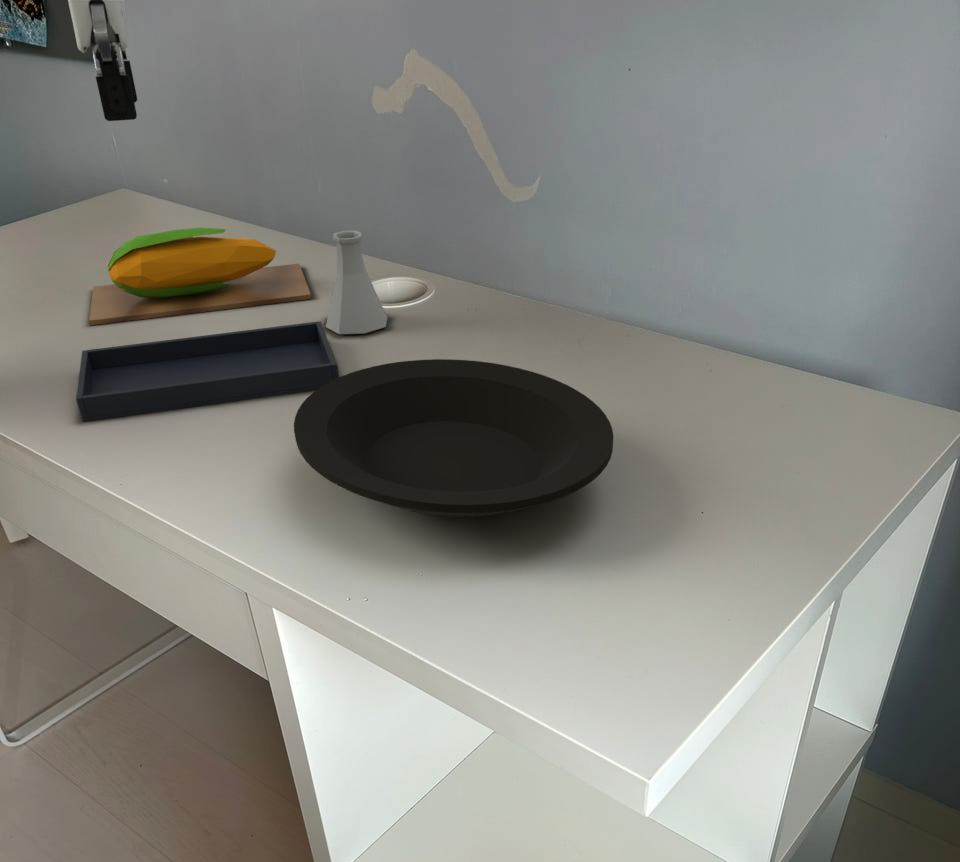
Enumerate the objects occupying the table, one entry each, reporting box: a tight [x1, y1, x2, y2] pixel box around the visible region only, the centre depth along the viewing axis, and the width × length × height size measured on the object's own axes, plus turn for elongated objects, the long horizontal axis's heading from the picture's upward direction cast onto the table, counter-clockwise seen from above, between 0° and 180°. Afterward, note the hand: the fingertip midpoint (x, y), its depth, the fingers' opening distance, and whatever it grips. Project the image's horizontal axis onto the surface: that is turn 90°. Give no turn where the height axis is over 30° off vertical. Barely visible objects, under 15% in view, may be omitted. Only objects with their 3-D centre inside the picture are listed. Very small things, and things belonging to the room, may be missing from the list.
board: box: [88, 263, 312, 326], centre depth 122 cm, size 26×12×1 cm, turn 105°
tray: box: [75, 320, 340, 423], centre depth 102 cm, size 25×12×2 cm, turn 105°
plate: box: [293, 358, 614, 518], centre depth 82 cm, size 28×24×6 cm
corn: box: [107, 227, 277, 299], centre depth 119 cm, size 7×8×20 cm
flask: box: [325, 229, 388, 335], centre depth 110 cm, size 7×7×10 cm
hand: (122, 110), depth 106 cm, fingers open, 9 cm apart
